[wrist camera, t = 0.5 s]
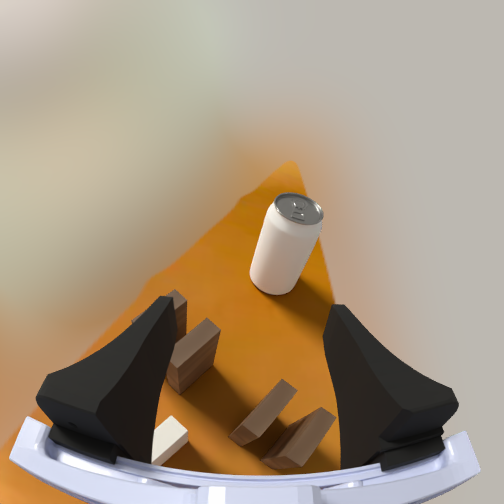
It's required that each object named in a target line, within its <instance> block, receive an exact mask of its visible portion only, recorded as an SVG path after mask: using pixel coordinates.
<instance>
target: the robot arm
mask: <svg viewBox="0 0 504 504" xmlns="http://www.w3.org/2000/svg"><path fill="white" fill-rule="evenodd" d="M177 331H178V329H177V322H176V315H175V308H174V301H173V297H167V296H160V297H159V298H158V299H157V300H156V301H155V302H154V303H153V304H152V305H151V306H150V307H149V308H148V309H147V310H146V311H145V312H144V313H143V314H142V315H141V316H140V317H139V318H138V319H137V320H136V321H135V322H134V323H133V324H132V325H131V326H129V327H128V328H127V329H126V330H125V331H124V332H123V333H121V334H120V335H119V336H118V337H117V338H115V339H114V340H113V341H112V342H110V343H109V344H107V345H106V346H105V347H103V348H102V349H100V350H98V351H97V352H95V353H94V354H92V355H90V356H89V357H87V358H85V359H83V360H81V361H79V362H77V363H75V364H73V365H71V366H69V367H67V368H64V369H62V370H59V371H56V372H53V373H51V374H48V375H47V377H46V379H45V380H44V382H43V384H42V386H41V388H40V390H39V392H38V394H37V396H36V401H37V404H38V405H39V407H40V408H41V409H42V411H43V412H44V413H45V414H46V415H47V416H48V417H49V419H50V420H51V421H52V422H53V423H54V424H53V426H52V428H50V427H49V426H47V425H45V424H43V423H41V422H39V421H37V420H35V419H33V418H31V417H29V416H28V417H26V419H25V421H24V423H23V425H22V428H21V430H20V432H19V435H18V437H17V439H16V442H15V444H14V447H13V449H12V452H11V454H10V457H9V459H10V460H11V461H12V462H14V463H15V464H16V465H18V466H19V467H21V468H22V469H23V470H25V471H26V472H28V473H29V474H31V475H32V476H34V477H35V478H37V479H39V480H40V481H42V482H44V483H46V484H48V485H50V486H52V487H54V488H56V489H58V490H60V491H62V492H64V493H66V494H68V495H71V496H73V497H75V498H77V499H80V500H82V501H84V502H87V503H89V504H421V503H423V502H426V501H428V500H430V499H432V498H435V497H437V496H440V495H442V494H444V493H446V492H448V491H450V490H452V489H454V488H455V487H457V486H459V485H461V484H463V483H464V482H466V481H467V480H469V479H471V478H472V477H474V476H476V475H477V474H479V473H480V471H481V470H480V467H479V464H478V461H477V458H476V455H475V453H474V450H473V447H472V445H471V442H470V439H469V437H468V434H467V432H466V431H462V432H460V433H457V434H455V435H452V436H450V437H448V438H446V439H444V440H442V437H441V435H442V434H443V433H444V430H443V428H442V426H443V425H444V424H445V423H446V422H447V421H448V420H449V419H450V418H451V416H453V415H454V413H455V412H456V411H457V409H458V406H459V403H458V401H457V399H456V397H455V394H454V393H453V390H452V388H449V387H447V386H445V385H442V384H440V383H438V382H436V381H434V380H432V379H429V378H428V377H426V376H424V375H422V374H421V373H419V372H417V371H416V370H414V369H413V368H411V367H410V366H408V365H407V364H405V363H404V362H402V361H401V360H400V359H398V358H397V357H396V356H395V355H393V354H392V353H391V352H390V351H389V350H388V349H386V348H385V347H384V346H383V345H382V344H381V343H380V342H379V341H378V340H377V339H376V338H375V337H374V336H373V335H372V334H371V333H370V332H369V331H368V330H367V329H366V328H365V327H364V326H363V325H362V324H361V322H360V321H359V320H358V319H357V318H356V317H355V316H354V315H353V314H352V313H351V311H350V310H349V309H348V308H347V307H346V306H345V305H339V304H332V306H331V310H330V313H329V317H328V320H327V324H326V327H325V331H324V334H323V342H324V350H325V356H326V360H327V364H328V368H329V372H330V375H331V379H332V383H333V387H334V391H335V395H336V400H337V408H338V416H339V428H340V446H341V470H338V471H330V472H322V473H312V474H299V475H279V476H245V475H225V474H213V473H203V472H194V471H187V470H180V469H174V468H168V467H162V466H157V465H152V464H151V463H152V448H153V437H154V428H155V421H156V414H157V408H158V402H159V397H160V392H161V388H162V385H163V382H164V379H165V375H166V372H167V369H168V366H169V363H170V360H171V357H172V354H173V350H174V347H175V342H176V336H177Z"/></svg>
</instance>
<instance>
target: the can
mask: <svg viewBox="0 0 504 504" xmlns="http://www.w3.org/2000/svg"><path fill="white" fill-rule="evenodd" d="M322 219H323V211H322V209H321V207H320V206H319V205H318V204H317V203H316V202H315V201H313V200H312V199H310V198H308V197H306V196H304V195H301V194H297V193H282V194H280V195H278V196H277V197H276V198H275V200H274V203H273V204H272V205H271V206H270V207H269V209H268V211H267V214H266V217H265V220H264V224H263V227H262V230H261V234H260V237H259V240H258V244H257V247H256V250H255V254H254V257H253V261H252V264H251V268H250V277H251V280H252V282H253V283H254V284H255V285H256V286H257V287H258V288H259V289H260V290H261V291H263V292H265V293H268V294H272V295H281V294H285V293H288V292H289V291H291V290H292V289H293V287H294V286H295V284H296V282H297V280H298V278H299V276H300V274H301V272H302V270H303V268H304V266H305V264H306V262H307V260H308V258H309V256H310V254H311V252H312V250H313V248H314V245H315V243H316V241H317V239H318V237H319V234H320V232H321V229H322Z"/></svg>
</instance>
